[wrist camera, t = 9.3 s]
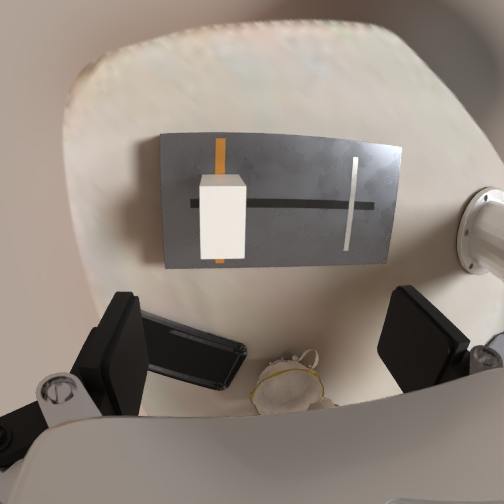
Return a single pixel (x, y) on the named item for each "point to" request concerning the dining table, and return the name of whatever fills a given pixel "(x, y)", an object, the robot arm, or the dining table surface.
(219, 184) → the fader tab
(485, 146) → the dining table surface
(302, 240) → the fader console
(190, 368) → the phone
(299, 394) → the chinaware
